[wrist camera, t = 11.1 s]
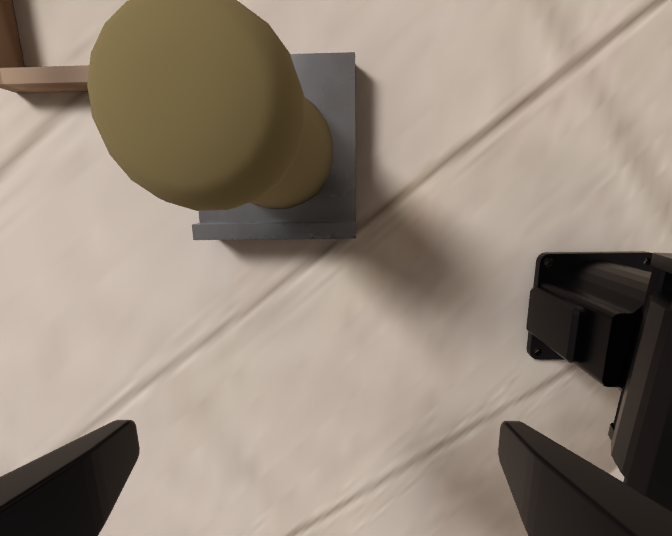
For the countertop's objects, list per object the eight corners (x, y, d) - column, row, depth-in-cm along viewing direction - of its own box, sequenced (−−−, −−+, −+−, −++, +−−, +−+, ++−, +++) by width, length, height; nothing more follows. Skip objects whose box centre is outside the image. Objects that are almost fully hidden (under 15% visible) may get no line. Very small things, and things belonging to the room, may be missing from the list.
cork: (340, 96, 18) (331, -56, 7) (325, 216, 19) (298, 249, 8) (221, 80, 18) (23, -97, 7) (214, 201, 19) (39, 214, 8)
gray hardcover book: (354, 63, 19) (355, 43, 16) (354, 232, 20) (356, 238, 18) (196, 67, 19) (173, 49, 16) (211, 234, 21) (193, 239, 18)
